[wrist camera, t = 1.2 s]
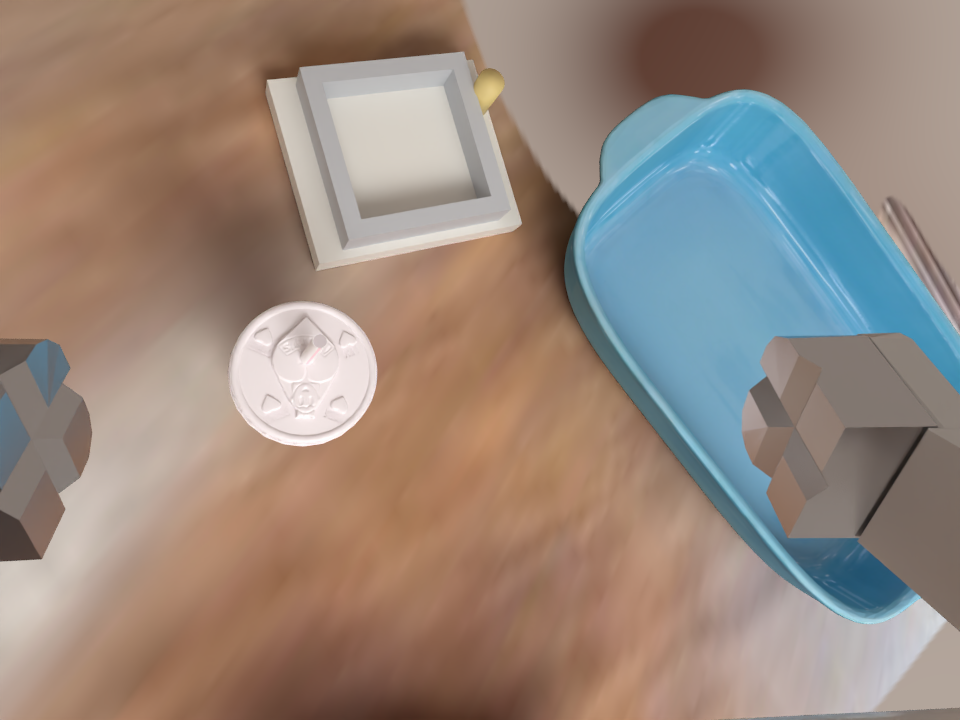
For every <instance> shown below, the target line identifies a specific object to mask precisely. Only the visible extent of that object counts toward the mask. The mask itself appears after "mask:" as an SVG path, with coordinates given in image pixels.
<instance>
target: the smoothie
mask: <svg viewBox="0 0 960 720" xmlns="http://www.w3.org/2000/svg"><path fill="white" fill-rule="evenodd" d="M228 380H229V389H230V393H231V396H232V398H233V401H234V403H235V406H236V408H237V410H238V411H239V413H240V414H241V415H242V416H243V418H244V419H245V420H246V422H247V423H248V424H249V425H250V426H251V427H252V428H254V429H255V430H257V431H258V432H259V433H261V434H262V435H263V436H265V437H267V438H269V439H272V440H274V441H277V442H279V443H282V444H286V445H295V446H310V445H317V444H323V443H325V442H327V441H330V440H332V439H335V438H337V437H339V436H341V435H342V434H343V433H345V432H346V431H347V430H349V429H350V428H351V427H353V426H354V425H355V424H356V423H357V421H358V420H359V419H360V418H361V417H362V416H363V414H364V413H365V412H366V410H367V408H368V407H369V405H370V403H371V400H372V398H373V395H374V392H375V388H376V382H377V364H376V358H375V354H374V351H373V348H372V346H371V344H370V341H369V339H368V338H367V336H366V334H365V333H364V332H363V330H362V329H361V328H360V327H359V326H358V324H357V323H356V322H355V321H353V320H352V319H351V318H350V317H349V316H347V315H346V314H344V313H343V312H341V311H340V310H338V309H336V308H334V307H331V306H329V305H326V304H322V303H318V302H312V301H293V302H287V303H283V304H280V305H277V306H274V307H272V308H270V309H268V310H266V311H264V312H263V313H261V314H260V315H258V316H257V317H256V318H254V319H253V320H252V321H251V322H250V323H249V324H248V325H247V327H246V328H245V329H244V330H243V332H242V333H241V334H240V336H239V337H238V339H237V342H236V344H235V346H234V348H233V350H232V352H231V355H230V361H229V367H228Z"/></svg>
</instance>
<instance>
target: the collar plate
mask: <svg viewBox="0 0 960 720" xmlns="http://www.w3.org/2000/svg"><path fill="white" fill-rule="evenodd" d="M503 88H504V79H503V77H502V75H501V74H500V73H499V72H498V71H497V70H495V69H491V68H488V69H485V70H483V71H482V72H481V73H480V75H479V76H478V75H477V71H476V68H475V65H474V61H473V60H466V57H465V54H464V52H456V53H445V54H435V55H424V56H414V57H403V58H392V59H382V60H371V61H361V62H350V63H340V64H329V65H318V66H308V67H299V72H298V77H292V78H282V79H272V80H267V84H266V92H265V94H266V97H267V101H268V104H269V108H270V111H271V115H272V118H273V122H274V125H275V129H276V132H277V136H278V139H279V143H280V147H281V150H282V154H283V157H284V161H285V164H286V168H287V171H288V175H289V178H290V182H291V185H292V189H293V192H294V196H295V200H296V203H297V207H298V210H299V214H300V217H301V221H302V224H303V228H304V231H305V235H306V238H307V242H308V245H309V249H310V252H311V256H312V260H313V263H314V267H315V270H316V271H319V270H324V269H329V268H334V267H339V266H344V265H349V264H354V263H359V262H364V261H369V260H374V259H379V258H384V257H389V256H394V255H398V254H403V253H408V252H413V251H418V250H423V249H428V248H433V247H438V246H443V245H448V244H453V243H458V242H463V241H468V240H473V239H478V238H483V237H488V236H493V235H498V234H503V233H507V232H512V231H514V230H515V229H517V228H518V227H519V226H520V225H521V224H522V222H521V218H520V215H519V212H518V208H517V205H516V202H515V198H514V195H513V192H512V188H511V185H510V181H509V178H508V175H507V171H506V168H505V165H504V161H503V158H502V155H501V151H500V148H499V145H498V141H497V138H496V135H495V131H494V128H493V125H492V121H491V118H490V115H489V111H488V109H489V108H490V106H491V105H492V103H493V102H494V101H495V99H496V98H497V97H498V95H499V94H500V93H501V91H502V90H503Z"/></svg>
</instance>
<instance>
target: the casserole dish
mask: <svg viewBox="0 0 960 720" xmlns="http://www.w3.org/2000/svg"><path fill="white" fill-rule="evenodd" d="M599 163H600V183H599V185H598V187H597V188H596V189H595V191H594V192H593V193H592V195H591V196H590V198H589V199H588V201H587V202H586V204H585V205H584V207H583V209H582V211H581V212H580V214H579V217H578V219H577V222H576V224H575V227H574V229H573V231H572V234H571V236H570V239H569V242H568V246H567V250H566V255H565V264H564V276H565V284H566V289H567V294H568V298H569V301H570V304H571V306H572V309H573V312H574V314H575V316H576V318H577V320H578V322H579V324H580V326H581V328H582V330H583V332H584V333H585V335H586V337H587V338H588V340H589V342H590V343H591V345H592V346H593V348H594V349H595V351H596V353H597V354H598V355H599V357H600V358H601V360H602V361H603V363H604V364H605V365H606V367H607V368H608V369H609V371H610V372H611V373H612V375H613V376H614V377H615V379H616V380H617V381H618V383H619V384H620V385H621V387H622V388H623V389H624V390H625V392H626V393H627V394H628V396H629V397H630V398H631V399H632V401H633V402H634V403H635V405H636V406H637V407H638V408H639V410H640V411H641V412H642V414H643V415H644V416H645V417H646V419H647V420H648V421H649V423H650V424H651V425H652V426H653V428H654V429H655V430H656V432H657V433H658V434H659V435H660V437H661V438H662V439H663V441H664V442H665V443H666V444H667V446H668V447H669V448H670V450H671V451H672V452H673V453H674V455H675V456H676V457H677V459H678V460H679V461H680V462H681V464H682V465H683V466H684V467H685V469H686V470H687V471H688V473H689V474H690V475H691V476H692V478H693V479H694V480H695V482H696V483H697V484H698V485H699V487H700V488H701V489H702V491H703V492H704V493H705V494H706V496H707V497H708V498H709V499H710V501H711V502H712V503H713V504H714V506H715V507H716V508H717V509H718V511H719V512H720V513H721V514H722V516H723V517H724V518H725V519H726V520H727V521H728V523H729V524H730V525H731V526H732V527H733V529H734V530H735V531H736V532H737V533H738V534H739V536H740V537H741V538H742V539H743V540H744V541H745V542H746V543H747V544H748V545H749V547H750V548H751V549H752V550H753V551H754V552H755V553H756V554H757V555H758V556H759V557H760V558H761V559H762V560H763V561H764V562H765V563H766V564H767V565H768V566H769V567H770V568H772V569H773V570H774V571H775V572H776V573H777V574H778V575H780V576H781V577H782V578H784V579H785V580H786V581H788V582H789V583H791V584H792V585H794V586H795V587H796V588H798V589H799V590H801V591H803V592H804V593H806V594H808V595H809V596H811V597H812V598H814V599H816V600H817V601H819V602H821V603H822V604H823V605H825V606H826V607H827V608H829V609H830V610H832V611H833V612H835V613H836V614H838V615H840V616H842V617H844V618H846V619H849V620H851V621H854V622H858V623H862V624H875V623H880V622H884V621H886V620H889V619H891V618H893V617H895V616H896V615H898V614H899V613H901V612H902V611H904V610H905V609H906V608H908V607H909V606H910V605H911V604H913V603H914V602H915V601H917V600H918V599H920V598H921V597H920V596H919V595H918V594H917V593H915V592H914V591H913V590H912V589H911V588H910V587H909V586H908V585H906V584H905V583H904V582H903V581H902V580H901V579H900V578H898V577H897V576H896V575H895V574H894V573H893V572H892V571H890V570H889V569H888V568H887V567H886V566H885V565H884V564H883V563H881V562H880V561H879V560H878V559H877V558H876V557H875V556H873V555H872V554H871V553H870V552H869V551H868V550H867V549H865V548H864V547H863V546H862V545H861V544H860V543H859V542H857V541H858V539H859V538H787V536H786V534H785V531H784V529H783V527H782V525H781V523H780V521H779V519H778V517H777V515H776V513H775V511H774V509H773V506H772V504H771V502H770V500H769V498H768V496H767V494H766V492H767V489H768V487H769V484H770V481H771V479H772V478H771V477H769V476H768V475H767V474H765V473H764V472H762V471H761V470H760V469H758V468H757V467H756V466H754V465H753V464H752V462H751V460H750V457H749V455H748V453H747V451H746V449H745V445H744V440H743V436H742V410H743V407H744V404H745V401H746V398H747V395H748V392H749V390H750V389H751V388H752V387H754V386H755V385H756V384H757V383H759V382H760V381H761V380H762V379H764V378H765V377H766V374H765V372H764V370H763V368H762V366H761V364H760V360H761V358H762V355H763V353H764V350H765V348H766V346H767V345H768V343H769V342H770V341H771V340H772V339H773V338H774V337H775V336H828V335H857V334H872V333H901V334H903V335H905V336H907V337H909V338H911V339H913V341H914V342H915V343H916V344H917V345H918V346H919V348H920V349H921V350H922V351H923V352H924V354H925V355H926V356H927V357H928V358H929V359H930V361H931V362H932V363H933V364H934V365H935V366H936V368H937V369H938V370H939V371H940V372H941V373H942V375H943V376H944V377H945V378H946V379H947V380H948V382H949V383H950V384H951V385H952V386H953V388H954V389H955V390H956V391H957V392H958V393H959V395H960V335H959V334H958V332H957V331H956V329H955V328H954V327H953V325H952V324H951V322H950V321H949V319H948V318H947V316H946V315H945V313H944V312H943V311H942V309H941V308H940V306H939V305H938V303H937V302H936V301H935V299H934V298H933V296H932V295H931V294H930V292H929V291H928V289H927V288H926V287H925V285H924V284H923V282H922V281H921V280H920V278H919V277H918V275H917V274H916V272H915V271H914V270H913V268H912V267H911V265H910V264H909V263H908V261H907V260H906V258H905V257H904V255H903V254H902V253H901V251H900V250H899V248H898V247H897V245H896V244H895V243H894V241H893V240H892V238H891V237H890V235H889V234H888V233H887V231H886V230H885V228H884V227H883V225H882V224H881V223H880V221H879V220H878V218H877V217H876V215H875V214H874V213H873V211H872V210H871V209H870V207H869V206H868V204H867V203H866V201H865V200H864V198H863V197H862V196H861V194H860V193H859V191H858V190H857V189H856V187H855V186H854V184H853V183H852V181H851V180H850V179H849V177H848V176H847V175H846V173H845V172H844V171H843V169H842V168H841V166H840V165H839V164H838V162H837V161H836V160H835V159H834V157H833V156H832V155H831V153H830V152H829V151H828V149H827V148H826V147H825V145H824V144H823V143H822V142H821V141H820V139H819V138H818V137H817V136H816V135H815V134H814V133H813V131H812V130H811V129H810V128H809V127H808V125H807V124H806V123H805V122H804V121H803V120H802V119H801V118H800V117H798V115H796V114H795V113H794V112H793V111H792V110H791V109H790V108H788V107H787V106H786V105H784V104H783V103H782V102H780V101H778V100H777V99H775V98H773V97H771V96H769V95H767V94H764V93H761V92H758V91H753V90H746V89H741V90H733V91H728V92H724V93H721V94H718V95H715V96H713V97H710V98H704V99H702V98H697V97H691V96H685V95H672V94H670V95H669V94H668V95H664V96H659V97H656V98H654V99H652V100H650V101H648V102H647V103H645V104H644V105H642V106H641V107H639V108H638V109H636V110H635V111H634V112H633V113H631V114H630V115H629V116H627V117H626V118H625V119H624V120H622V121H621V122H620V123H619V124H618V125H617V126H616V127H615V128H614V129H613V130H612V131H611V132H610V133H609V135H608V136H607V138H606V140H605V141H604V143H603V146H602V149H601V155H600V162H599Z"/></svg>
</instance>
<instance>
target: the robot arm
mask: <svg viewBox="0 0 960 720" xmlns="http://www.w3.org/2000/svg"><path fill="white" fill-rule="evenodd" d="M760 364H761V366H762V368H763V370H764V372H765V374H766V377H765V378H764V379H762V380H761V381H760V382H759V383H757V384H756V385H755V386H754V387H752V388H751V389H750V390H749V392H748V395H747V398H746V401H745V404H744V407H743V410H742V436H743V440H744V445H745V449H746V451H747V453H748V455H749V457H750V460H751V462H752V464H753V465H754V466H756V467H757V468H758V469H760V470H761V471H762V472H764V473H765V474H767V475H768V476H769V477H771V478H772V479H771V481H770V484H769V487H768V489H767V492H766V494H767V496H768V498H769V500H770V502H771V504H772V506H773V509H774V511H775V513H776V515H777V517H778V519H779V521H780V523H781V525H782V527H783V529H784V531H785V534H786V536H787V538H859V539H858V541H857V542H859V543H860V544H861V545H862V546H863V547H864V548H865V549H867V550H868V551H869V552H870V553H871V554H872V555H873V556H875V557H876V558H877V559H878V560H879V561H880V562H881V563H883V564H884V565H885V566H886V567H887V568H888V569H889V570H890V571H892V572H893V573H894V574H895V575H896V576H897V577H898V578H900V579H901V580H902V581H903V582H904V583H905V584H906V585H908V586H909V587H910V588H911V589H912V590H913V591H914V592H915V593H917V594H918V595H919V596H920V597H921V598H922V599H923V600H925V601H926V602H927V603H928V604H929V605H930V606H931V607H933V608H934V609H935V610H936V611H937V612H938V613H939V614H940V615H942V616H943V617H944V618H945V619H946V620H947V621H948V622H950V623H951V624H952V625H953V626H954V627H955V628H957V629H958V630H959V631H960V395H959V393H958V392H957V391H956V390H955V389H954V388H953V386H952V385H951V384H950V383H949V382H948V380H947V379H946V378H945V377H944V376H943V375H942V373H941V372H940V371H939V370H938V369H937V368H936V366H935V365H934V364H933V363H932V362H931V361H930V359H929V358H928V357H927V356H926V355H925V354H924V352H923V351H922V350H921V349H920V348H919V346H918V345H917V344H916V343H915V342H914V341H913V339H911V338H909V337H907V336H905V335H903V334H901V333H872V334H857V335H828V336H775V337H774V338H773V339H772V340H771V341H770V342H769V343H768V345H767V346H766V348H765V350H764V353H763V355H762V358H761V360H760ZM69 370H70V366H69V364H68V362H67V360H66V358H65V356H64V354H63V351H62V349H61V347H60V345H58V344H56V343H54V342H52V341H50V340H48V339H0V561H19V560H37V559H42V558H43V556H44V553H45V551H46V549H47V547H48V545H49V543H50V541H51V539H52V537H53V534H54V532H55V530H56V528H57V526H58V524H59V522H60V520H61V517H62V515H63V513H64V511H65V507H64V505H63V503H62V501H61V498H60V496H59V494H58V493H60V492H61V491H63V490H64V489H65V488H67V487H68V486H69V485H71V484H72V483H73V482H75V481H76V480H77V479H79V478H80V477H81V474H82V472H83V470H84V467H85V465H86V463H87V461H88V458H89V453H90V445H91V437H92V429H91V422H90V416H89V412H88V410H87V407H86V405H85V402H84V400H83V398H82V397H81V396H80V395H78V394H77V393H76V392H74V391H73V390H71V389H70V388H69V387H67V386H66V385H64V384H63V381H64V379H65V377H66V375H67V373H68V371H69ZM720 720H960V708H947V709H930V710H929V709H927V710H907V711H886V712H866V713H845V714H825V715H804V716H783V717H762V718H741V719H720Z"/></svg>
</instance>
